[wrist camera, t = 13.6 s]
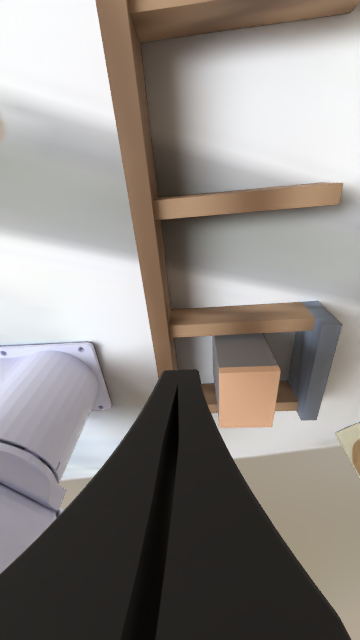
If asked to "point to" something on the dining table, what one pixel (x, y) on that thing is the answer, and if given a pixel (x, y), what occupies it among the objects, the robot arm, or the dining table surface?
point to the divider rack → (148, 210)
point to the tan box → (245, 380)
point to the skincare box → (351, 444)
